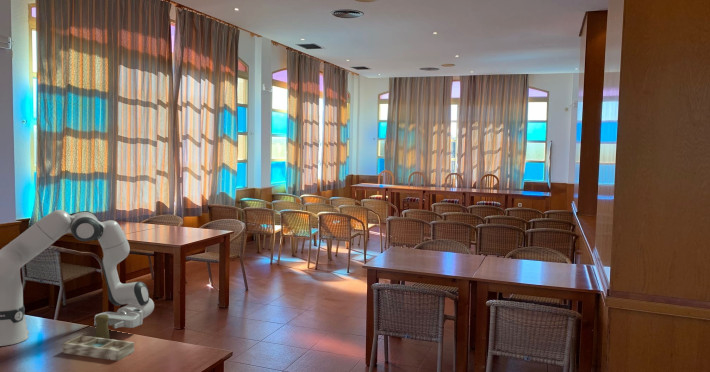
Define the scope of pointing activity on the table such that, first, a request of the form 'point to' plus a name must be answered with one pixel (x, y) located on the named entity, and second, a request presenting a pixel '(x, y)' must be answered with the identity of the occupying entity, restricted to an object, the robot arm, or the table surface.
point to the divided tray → (98, 347)
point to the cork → (102, 326)
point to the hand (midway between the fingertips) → (104, 325)
